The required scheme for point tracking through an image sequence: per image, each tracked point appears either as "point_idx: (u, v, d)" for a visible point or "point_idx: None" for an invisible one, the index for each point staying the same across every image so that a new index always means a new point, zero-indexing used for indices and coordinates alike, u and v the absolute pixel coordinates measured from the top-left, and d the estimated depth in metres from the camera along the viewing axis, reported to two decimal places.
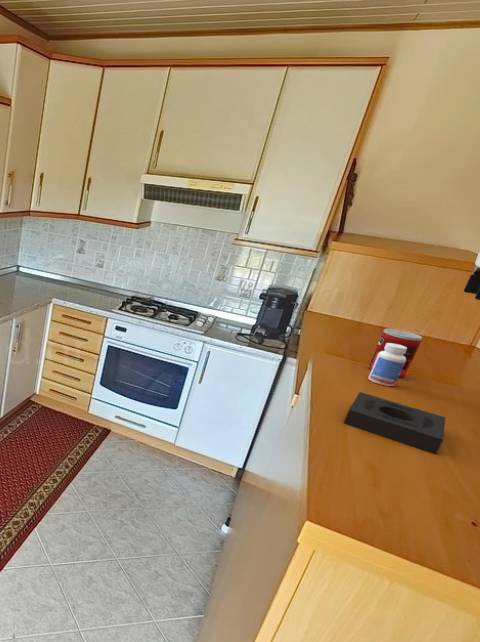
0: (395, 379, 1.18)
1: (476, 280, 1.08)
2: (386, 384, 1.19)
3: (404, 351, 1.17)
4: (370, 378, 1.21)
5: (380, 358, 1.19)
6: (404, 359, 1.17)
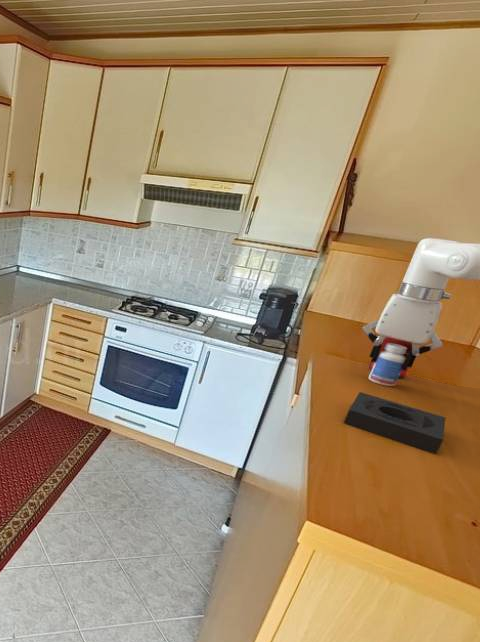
0: (395, 379, 1.18)
1: (379, 350, 1.20)
2: (386, 384, 1.19)
3: (404, 351, 1.17)
4: (370, 378, 1.21)
5: (380, 358, 1.19)
6: (404, 359, 1.17)
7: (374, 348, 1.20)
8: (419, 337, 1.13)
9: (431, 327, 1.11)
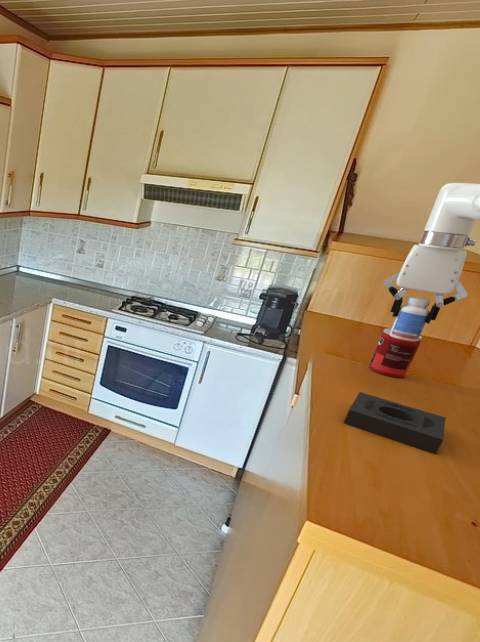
0: (418, 333, 1.13)
1: (400, 304, 1.15)
2: (409, 339, 1.14)
3: (427, 303, 1.12)
4: (391, 334, 1.17)
5: (402, 312, 1.14)
6: (427, 312, 1.12)
7: (395, 302, 1.16)
8: (443, 287, 1.09)
9: (456, 276, 1.07)
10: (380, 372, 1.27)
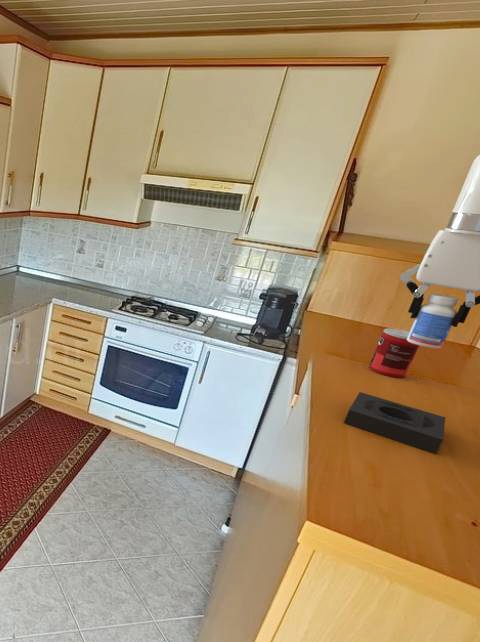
0: (442, 339, 0.93)
1: (421, 303, 0.95)
2: (430, 345, 0.93)
3: (455, 302, 0.91)
4: (409, 339, 0.96)
5: (423, 313, 0.94)
6: (454, 313, 0.91)
7: (414, 301, 0.95)
8: (475, 282, 0.88)
9: None
10: (380, 372, 1.27)
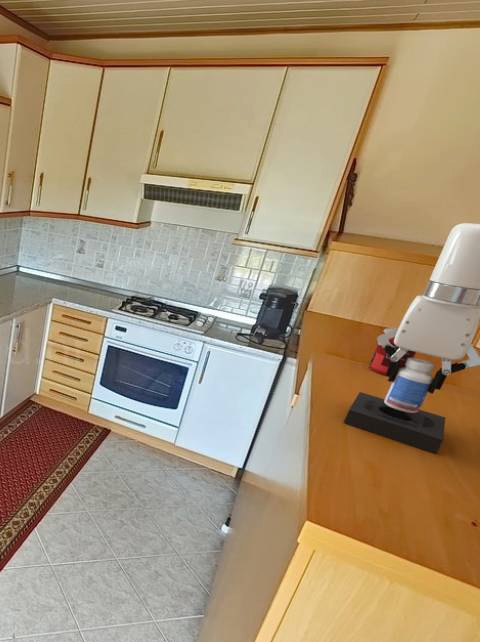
0: (419, 404, 0.93)
1: (398, 367, 0.94)
2: (407, 410, 0.93)
3: (431, 369, 0.91)
4: (386, 402, 0.96)
5: (400, 378, 0.93)
6: (431, 379, 0.91)
7: (392, 364, 0.95)
8: (451, 351, 0.88)
9: (468, 339, 0.86)
10: (380, 372, 1.27)
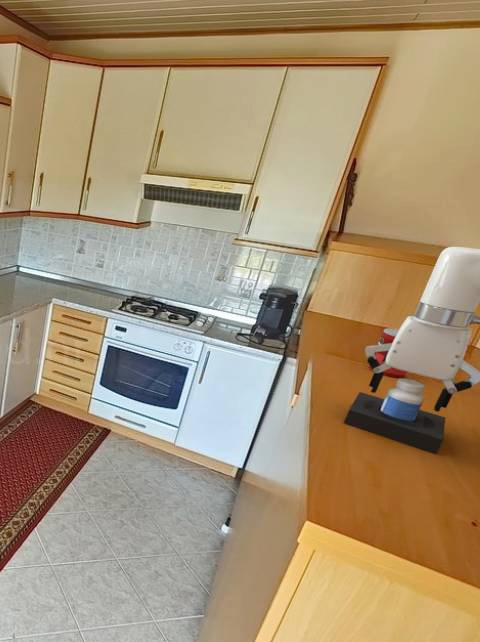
0: None
1: None
2: None
3: (421, 390, 0.92)
4: None
5: (391, 398, 0.95)
6: (421, 400, 0.93)
7: (375, 376, 0.97)
8: (442, 372, 0.89)
9: (457, 360, 0.87)
10: None
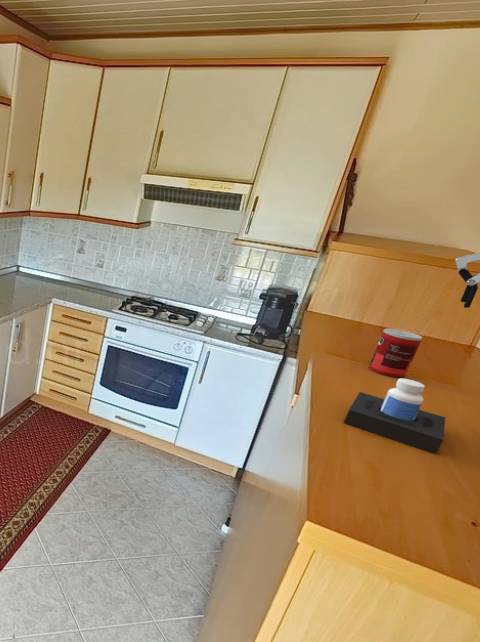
0: None
1: (475, 292, 0.88)
2: None
3: (421, 390, 0.92)
4: None
5: (391, 398, 0.95)
6: (421, 400, 0.93)
7: (468, 289, 0.88)
8: None
9: None
10: (380, 372, 1.27)
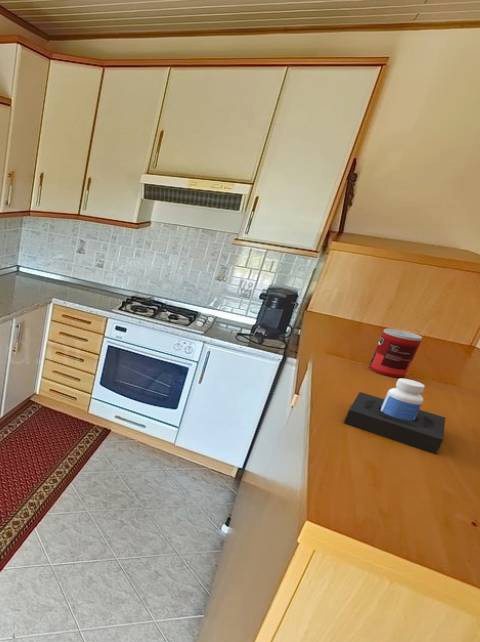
0: None
1: None
2: None
3: (421, 390, 0.92)
4: None
5: (391, 398, 0.95)
6: (421, 400, 0.93)
7: None
8: None
9: None
10: (380, 372, 1.27)
